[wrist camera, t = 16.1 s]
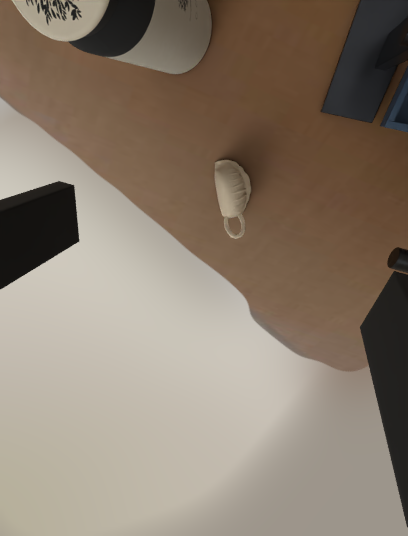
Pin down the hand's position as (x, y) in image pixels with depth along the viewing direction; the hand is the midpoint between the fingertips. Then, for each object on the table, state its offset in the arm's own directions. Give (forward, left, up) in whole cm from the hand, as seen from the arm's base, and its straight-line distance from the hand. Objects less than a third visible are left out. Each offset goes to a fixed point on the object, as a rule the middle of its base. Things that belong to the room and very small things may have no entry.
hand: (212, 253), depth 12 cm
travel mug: (-10, -13, -26) cm, 31 cm away
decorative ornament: (+5, -3, -26) cm, 27 cm away
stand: (-11, +6, -26) cm, 29 cm away
